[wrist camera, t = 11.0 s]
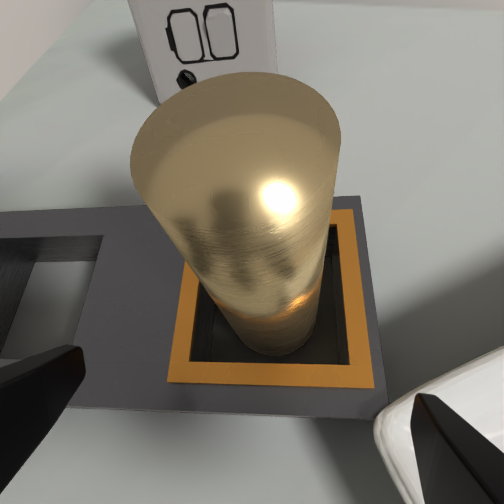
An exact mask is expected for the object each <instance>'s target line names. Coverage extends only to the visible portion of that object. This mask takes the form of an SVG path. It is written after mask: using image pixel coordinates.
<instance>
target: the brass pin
mask: <svg viewBox="0 0 504 504" xmlns="http://www.w3.org/2000/svg"><path fill="white" fill-rule="evenodd" d="M340 144H341V131H340V127H339V122H338V119H337V117H336V114H335V112H334V110H333V109H332V107H331V106H330V104H329V103H328V102H327V101H326V100H325V98H324V97H323V96H322V95H320V94H319V93H318V92H317V91H316V90H314V89H313V88H311V87H310V86H308V85H306V84H304V83H302V82H300V81H298V80H296V79H293V78H290V77H287V76H283V75H279V74H274V73H266V72H237V73H230V74H224V75H220V76H215V77H212V78H209V79H206V80H203V81H200V82H198V83H195V84H193V85H191V86H189V87H187V88H185V89H183V90H181V91H179V92H178V93H176V94H174V95H173V96H171V97H170V98H169V99H167V100H166V101H165V102H163V103H162V104H161V105H160V106H159V107H158V108H157V109H156V110H154V112H153V113H152V114H151V115H150V116H149V117H148V118H147V120H146V121H145V122H144V124H143V125H142V127H141V128H140V130H139V132H138V134H137V136H136V138H135V141H134V144H133V146H132V151H131V156H130V169H131V176H132V179H133V182H134V185H135V187H136V189H137V191H138V193H139V194H140V196H141V197H142V199H143V200H144V202H145V203H146V205H147V206H148V207H149V209H150V210H151V212H152V213H153V215H154V216H155V217H156V219H157V220H158V222H159V223H160V225H161V226H162V227H163V229H164V230H165V232H166V233H167V235H168V236H169V238H170V239H171V240H172V242H173V243H174V245H175V246H176V248H177V249H178V250H179V252H180V253H181V255H182V256H183V258H184V259H185V261H186V262H187V263H188V265H189V266H190V268H191V269H192V271H193V272H194V273H195V275H196V276H197V278H198V279H199V281H200V282H201V283H202V285H203V286H204V288H205V289H206V291H207V292H208V294H209V295H210V296H211V298H212V299H213V301H214V302H215V304H216V305H217V306H218V308H219V309H220V311H221V312H222V314H223V315H224V316H225V318H226V319H227V321H228V322H229V324H230V325H231V327H232V328H233V329H234V331H235V332H236V334H237V335H238V337H239V338H240V339H241V341H242V342H243V343H244V344H245V345H246V346H247V347H249V348H250V349H251V350H253V351H255V352H257V353H260V354H262V355H267V356H281V355H286V354H289V353H291V352H293V351H295V350H297V349H298V348H300V347H301V346H302V345H303V344H305V342H306V341H307V340H308V339H309V337H310V336H311V334H312V332H313V330H314V327H315V323H316V316H317V309H318V302H319V295H320V288H321V280H322V273H323V266H324V259H325V252H326V245H327V237H328V230H329V223H330V216H331V209H332V202H333V194H334V187H335V180H336V173H337V166H338V159H339V151H340Z"/></svg>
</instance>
